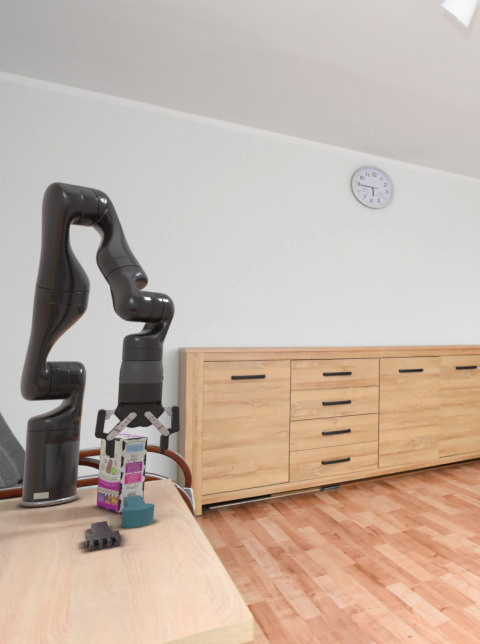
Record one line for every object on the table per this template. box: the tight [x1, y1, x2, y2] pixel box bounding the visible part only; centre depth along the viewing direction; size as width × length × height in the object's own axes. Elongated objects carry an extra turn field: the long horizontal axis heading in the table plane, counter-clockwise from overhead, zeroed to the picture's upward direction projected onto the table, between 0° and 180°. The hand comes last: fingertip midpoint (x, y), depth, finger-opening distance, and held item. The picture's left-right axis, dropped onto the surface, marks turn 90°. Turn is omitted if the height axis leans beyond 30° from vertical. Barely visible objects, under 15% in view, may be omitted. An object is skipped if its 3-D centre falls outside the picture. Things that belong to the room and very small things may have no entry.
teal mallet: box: [120, 495, 155, 529], centre depth 120 cm, size 14×5×4 cm, turn 45°
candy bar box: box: [96, 433, 149, 514], centre depth 129 cm, size 11×5×16 cm, turn 62°
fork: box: [84, 520, 121, 552], centre depth 109 cm, size 16×5×1 cm, turn 45°
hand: (137, 455), depth 122 cm, fingers open, 8 cm apart
